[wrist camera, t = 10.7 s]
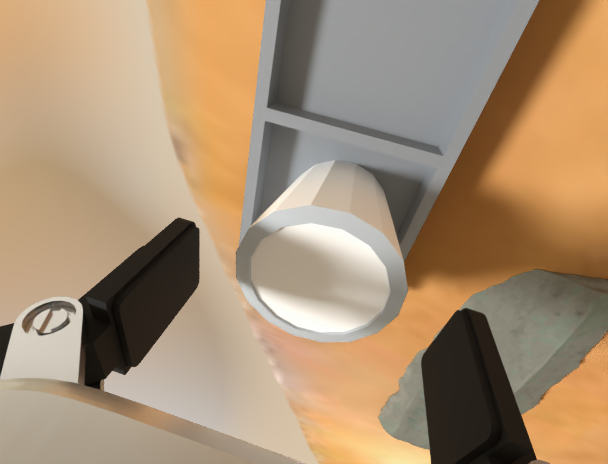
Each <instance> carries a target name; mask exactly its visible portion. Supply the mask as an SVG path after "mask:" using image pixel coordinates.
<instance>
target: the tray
mask: <svg viewBox="0 0 608 464" xmlns="http://www.w3.org/2000/svg"><path fill="white" fill-rule="evenodd" d="M538 2H539V0H266V5H265V14H264V23H263V32H262V41H261V50H260V59H259V68H258V77H257V87H256V96H255V105H254V114H253V123H252V132H251V141H250V150H249V159H248V168H247V177H246V186H245V195H244V204H243V214H242V223H241V232H240V241H239V245H240V243H241V242H242V240H243V238H244V236H245V234H246V232H247V230H248V228H249V227H250V226H251V225H252V224H253V223H254V222H255V221H256V220H257V219H258V218H259V217H260V216H261V215H262V214H263V213H264V212H265V211H266V210H267V209H268V208H269V207H270V206H271V205H272V204H273V203H274V202H275V201H276V200H277V199H278V198H279V197H280V196H281V195H282V194H283V193H284V192H285V191H286V190H287V189H288V188H289V187H290V186H291V185H292V184H293V182H294V181H295V180H296V179H297V178H298V177H299V176H300V175H301V174H303V173H304V172H306V171H307V170H309V169H310V168H311V167H313V166H314V165H316V164H319V163H324V162H329V161H333V160H338V161H344V162H350V163H355V164H357V165H359V166H360V167H362V168H364V169H365V170H367V171H368V172H370V173H372V174H373V175H374V177H375V178H376V180H377V181H378V182H379V184H380V185H381V187H382V188H383V190H384V193H385V196H386V200H387V203H388V207H389V211H390V214H391V218H392V221H393V225H394V228H395V232H396V236H397V239H398V243H399V246H400V250H401V253H402V257H403V260H404V261H405V259H406V257H407V255H408V253H409V251H410V249H411V248H412V246H413V244H414V242H415V240H416V238H417V236H418V234H419V232H420V230H421V228H422V226H423V224H424V222H425V220H426V219H427V217H428V215H429V213H430V211H431V209H432V207H433V205H434V203H435V201H436V199H437V197H438V195H439V193H440V191H441V189H442V188H443V186H444V184H445V182H446V180H447V178H448V176H449V174H450V172H451V170H452V168H453V166H454V164H455V162H456V160H457V159H458V157H459V155H460V153H461V151H462V149H463V147H464V145H465V143H466V141H467V139H468V137H469V135H470V133H471V131H472V130H473V128H474V126H475V124H476V122H477V120H478V118H479V116H480V114H481V112H482V110H483V108H484V106H485V104H486V102H487V101H488V99H489V97H490V95H491V93H492V91H493V89H494V87H495V85H496V83H497V81H498V79H499V77H500V75H501V73H502V72H503V70H504V68H505V66H506V64H507V62H508V60H509V58H510V56H511V54H512V52H513V50H514V48H515V46H516V44H517V43H518V41H519V39H520V37H521V35H522V33H523V31H524V29H525V27H526V25H527V23H528V21H529V19H530V17H531V15H532V14H533V12H534V10H535V8H536V6H537V4H538Z"/></svg>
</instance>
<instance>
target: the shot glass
mask: <svg viewBox="0 0 608 464" xmlns="http://www.w3.org/2000/svg"><path fill="white" fill-rule="evenodd" d="M236 278H237V280H238V282H239V284H240V286H241V288H242V290H243V293H244V295H245V297H246V299H247V301H248V302H249V303H250V304H251V305H252V306H253V307H254V308H255V309H256V310H257V311H258V312H259V313H260V314H261V315H262V316H263V317H264V318H265V319H266V320H267V321H268V322H270V323H272V324H274V325H275V326H277V327H279V328H281V329H283V330H285V331H286V332H288V333H290V334H292V335H295V336H299V337H303V338H307V339H310V340H314V341H318V342H351V341H354V340H357V339H360V338H363V337H367V336H370V335H373V334H376V333H378V332H379V331H380V330H381V329H383V328H384V327H385V326H386V325H387V324H389V323H390V322H391V321H392V320H393V319H394V318H396V317H397V316H398V314H399V312H400V309H401V307H402V304H403V302H404V300H405V297H406V295H407V292H408V286H407V280H406V273H405V266H404V260H403V257H402V253H401V250H400V246H399V243H398V239H397V236H396V232H395V228H394V225H393V221H392V218H391V214H390V211H389V207H388V203H387V200H386V196H385V193H384V190H383V188H382V187H381V185H380V184H379V182H378V181H377V180H376V178H375V177H374V175H373V174H372V173H370V172H368V171H367V170H365V169H364V168H362V167H360V166H359V165H357V164H355V163H350V162H344V161H338V160H333V161H329V162H324V163H319V164H316V165H314V166H313V167H311V168H310V169H309V170H307V171H306V172H304V173H303V174H301V175H300V176H299V177H298V178H297V179H296V180H295V181H294V182H293V184H292V185H291V186H290V187H289V188H288V189H287V190H286V191H285V192H284V193H283V194H282V195H281V196H280V197H279V198H278V199H277V200H276V201H275V202H274V203H273V204H272V205H271V206H270V207H269V208H268V209H267V210H266V211H265V212H264V213H263V214H262V215H261V216H260V217H259V218H258V219H257V220H256V221H255V222H254V223H253V224H252V225H251V226H250V227H249V228H248V230H247V232H246V234H245V236H244V238H243V240H242V242H241V243H240V245H239V247H238V249H237V251H236Z"/></svg>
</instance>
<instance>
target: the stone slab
mask: <svg viewBox="0 0 608 464" xmlns="http://www.w3.org/2000/svg"><path fill="white" fill-rule="evenodd" d="M464 308H468V309H471V310H475V311H478V312H481V313H483V314H485V316H486V318H487V320H488V323H489V326H490V329H491V332H492V335H493V337H494V340H495V343H496V346H497V349H498V352H499V354H500V357H501V360H502V363H503V366H504V368H505V371H506V374H507V377H508V379H509V382H510V385H511V388H512V391H513V394H514V396H515V399H516V402H517V405H518V408H519V411H520V413H521V414H523V413H525V412H527V411H528V410H530V409H532V408H534V407H535V406H536V405H537V404H539V402H540V399H541V397H542V395H543V394H544V393H545V392H546V391H547V390H548V389H549V388H550V387H552V386H553V385H555V384H557V383H559V382H560V381H561V380H562V379H563V378H564V377H565V376H566V375H568V374H570V373H571V372H572V371H573V370H575V369H577V368H579V364H580V361H581V360H582V359H583V358H584V357H585V355H586V354H587V353H588V352H590V350H591V348H592V347H593V346H594V345H596V344H598V343H599V341H600V340H601V339H602V337H603V335H604V334H605V333H606V332H607V331H608V280H607V279H600V278H590V277H584V276H580V275H573V274H561V273H555V272H549V271H545V270H540V269H534V270H532V271H529V272H524V273H522V274H519V275H516V276H513V277H511V278H509V279H508V280H506V281H505V282H503V283H501V284H498V285H494V286H491V287H489V288H487V289H486V290H484V291H481V292H478V293H476V294H473V295H472V296H471V297H470V298H469V299H468V300H467V301H466V302H465V303H464V304H463V306H462V307H461V308H460V311H461V310H462V309H464ZM443 328H444V327H443ZM443 328H442V329H443ZM442 329H441V330H442ZM441 330H440V331H439V332H438V333H437V334H436V336H435V337H434V339H435V338H436V337H437V335H438V334H439V333H440V332H441ZM433 341H434V340H433ZM427 349H428V348H426V349H423V350H421V351H419V352H418V353H417V354H416V356H415V357H414V359H413V361H412V362H411V363H410V364H409V365H408V366H407V368H406V372H405V374H404V376H403V377H401V378H399V387H400V390H399V391H398V392H396V393H395V394H393V395H391V396H390V397H389V399H388V401H387V402H386V405H385V406H384V407H383V408H382V409H381V414H380V416H379V420H380V423H381V425H382V426H383V428H384V429H385V431H386V432H387V433H389V434H390V435H391V436H392V437H394V438H396V439H399V440H402V441H405V442H408V443H410V444H412V445H414V446H417V447H421V448H424V449H429V450H430V446H429V436H428V426H427V417H426V407H425V398H424V388H423V378H422V369H421V359H422V356H423V354H424V353H425V351H426V350H427Z"/></svg>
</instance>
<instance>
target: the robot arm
mask: <svg viewBox="0 0 608 464" xmlns="http://www.w3.org/2000/svg"><path fill="white" fill-rule="evenodd" d="M198 284H199V228H197V227H196V225H195V223H194V222H192V221H188V220H185V219H182V218H177V219H175V220H174V221H173V222H172V223H171V224H169V225H168V226H167V227H166V228H165V229H164V230H162V231H161V232H160V233H159V234H158V235H157V236H155V237H154V238H153V239H152V240H151V241H150V242H148V243H147V244H146V245H145V246H142V247H141V248H139V249H138V250H137V251H135V252H134V253H133V254H132V255H131V256H130V257H128V258H127V259H126V260H125V261H124V262H123V263H121V264H120V265H119V266H118V267H117V268H116V269H114V270H113V271H112V272H111V273H110V274H108V275H107V276H106V277H105V278H104V279H102V280H101V281H100V282H99V283H98V284H97V285H95V286H94V287H93V288H92V289H91V290H90V291H88V292H87V293H86V294H85V295H84V296H82V297H81V298H80V299H79V300H76V299H73V298H71V297H64V296H62V297H52V298H48V299H44V300H42V301H39V302H37V303H35V304H33V305H31V306H30V307H28V308H27V309H25V310H24V311H23V312H22V313H21V314H20V315H19V316H18V317H17V319H16V321H15V323H13V324H9V325H5V326H1V327H0V464H305V463H302V462H300V461H297V460H294V459H291V458H289V457H286V456H283V455H281V454H278V453H275V452H272V451H270V450H267V449H264V448H262V447H259V446H256V445H253V444H251V443H248V442H245V441H243V440H240V439H237V438H234V437H232V436H229V435H226V434H223V433H220V432H218V431H215V430H212V429H210V428H207V427H204V426H201V425H199V424H196V423H193V422H190V421H188V420H185V419H182V418H179V417H177V416H174V415H171V414H168V413H165V412H163V411H160V410H157V409H154V408H151V407H149V406H146V405H143V404H140V403H137V402H134V401H131V400H128V399H125V398H123V397H120V396H117V395H114V394H111V393H108V392H104V379H106V378H107V376H108V375H109V374H110V373H111V371H115V372H118V373H121V374H123V375H126V373H127V372H128V371H129V369H130V368H131V367H136V366H137V365H138V364H139V363H140V362H141V361H142V360H143V358H144V357H145V356H146V354H147V353H148V352H149V350H150V349H151V348H152V346H153V345H154V344H155V343H156V341H157V340H158V339H159V337H160V336H161V335H162V333H163V332H164V331H165V329H166V328H167V327H168V325H169V324H170V323H171V321H172V320H173V319H174V317H175V316H176V315H177V314H178V312H179V311H180V310H181V308H182V307H183V306H184V304H185V303H186V302H187V300H188V299H189V298H190V296H191V295H192V294H193V292H194V291H195V290H196V288H197V286H198ZM421 369H422V378H423V388H424V398H425V407H426V417H427V426H428V436H429V446H430V455H431V464H550V463H548V462H545V461H541V460H537V458H536V456H535V453H534V450H533V447H532V444H531V442H530V439H529V436H528V433H527V430H526V427H525V425H524V422H523V419H522V416H521V413H520V411H519V408H518V405H517V402H516V399H515V396H514V394H513V391H512V388H511V385H510V382H509V379H508V377H507V374H506V371H505V368H504V366H503V363H502V360H501V357H500V354H499V352H498V349H497V346H496V343H495V340H494V337H493V335H492V332H491V329H490V326H489V323H488V320H487V318H486V316H485V314H483V313H481V312H478V311H475V310H471V309H468V308H464V309H462V310H461V311H460V310H457V311H456V312H455V313H454V314H453V316H452V317H451V318H450V320H449V321H448V322H447V324H446V325H445V326H444V328H443V329H442V330H441V332H440V333H439V334H438V335H437V337H436V338H435V339H434V341H433V342H432V343H431V345H430V346H429V347H428V349H427V350H426V351H425V353H424V354H423V356H422V359H421Z"/></svg>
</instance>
